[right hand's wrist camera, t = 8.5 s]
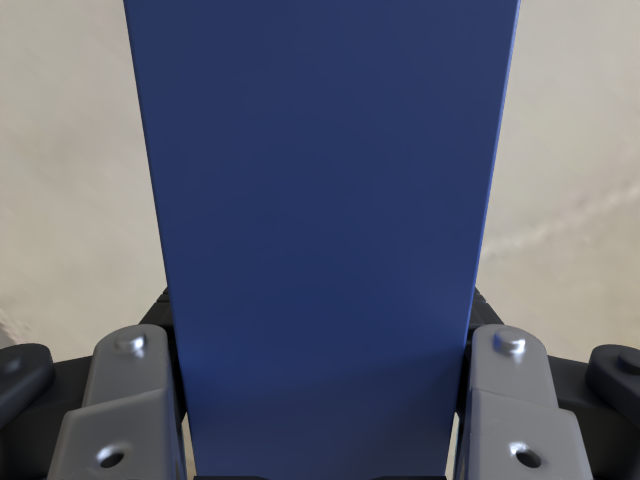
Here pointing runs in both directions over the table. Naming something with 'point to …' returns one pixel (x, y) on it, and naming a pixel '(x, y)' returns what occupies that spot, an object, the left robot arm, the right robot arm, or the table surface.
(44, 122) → the table surface
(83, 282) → the table surface
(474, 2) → the bar
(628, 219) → the table surface
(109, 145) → the table surface
